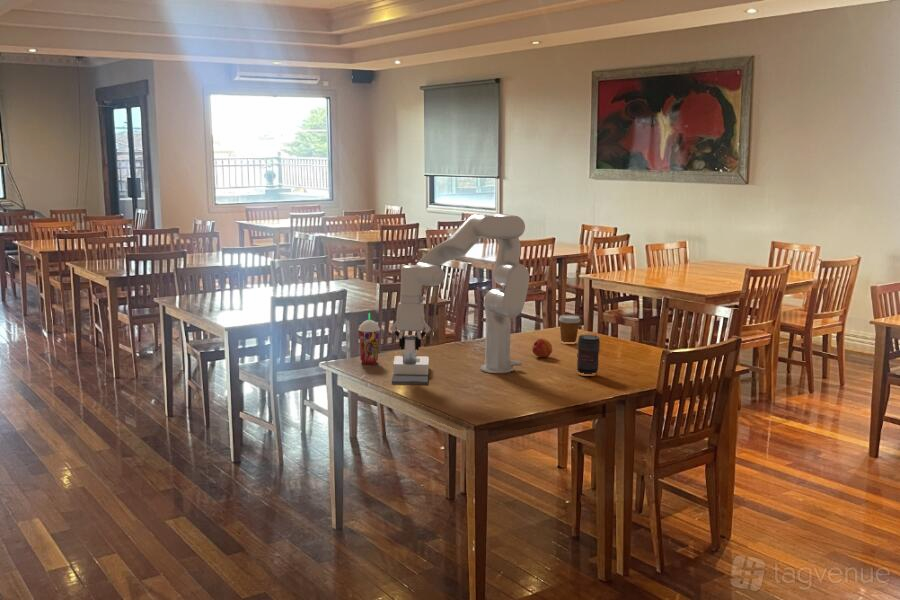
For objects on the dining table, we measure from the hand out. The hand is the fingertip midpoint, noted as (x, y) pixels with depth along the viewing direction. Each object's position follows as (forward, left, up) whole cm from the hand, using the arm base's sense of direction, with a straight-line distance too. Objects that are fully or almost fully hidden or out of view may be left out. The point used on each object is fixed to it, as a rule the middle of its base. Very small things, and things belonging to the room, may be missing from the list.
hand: (409, 348), depth 318 cm
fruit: (-53, -40, -12) cm, 68 cm away
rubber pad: (0, 0, -12) cm, 12 cm away
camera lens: (-67, -12, -12) cm, 69 cm away
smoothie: (+17, -26, -12) cm, 33 cm away
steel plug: (0, 0, -5) cm, 5 cm away
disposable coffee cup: (-68, -68, -12) cm, 97 cm away
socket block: (0, -13, -12) cm, 18 cm away
